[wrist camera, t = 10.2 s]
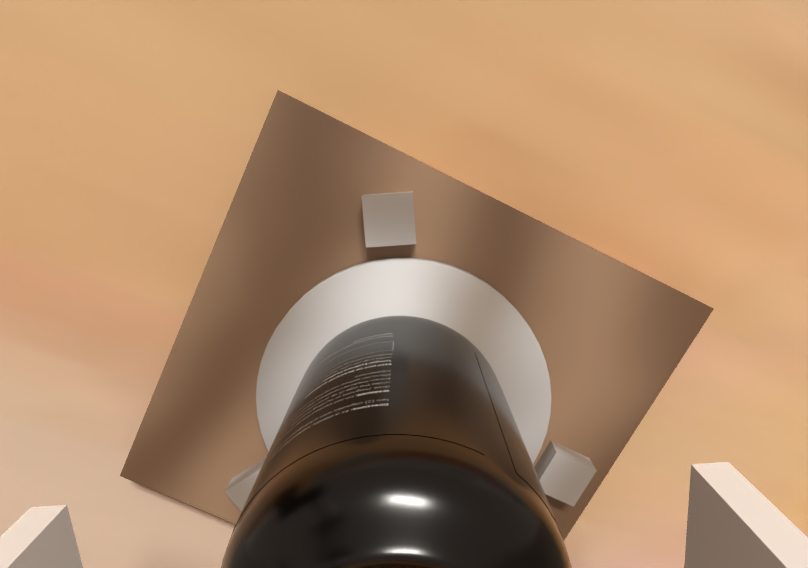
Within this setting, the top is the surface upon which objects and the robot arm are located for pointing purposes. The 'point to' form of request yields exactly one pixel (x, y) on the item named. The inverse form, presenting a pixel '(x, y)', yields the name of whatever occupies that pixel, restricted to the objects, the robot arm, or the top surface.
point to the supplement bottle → (397, 463)
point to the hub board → (400, 314)
